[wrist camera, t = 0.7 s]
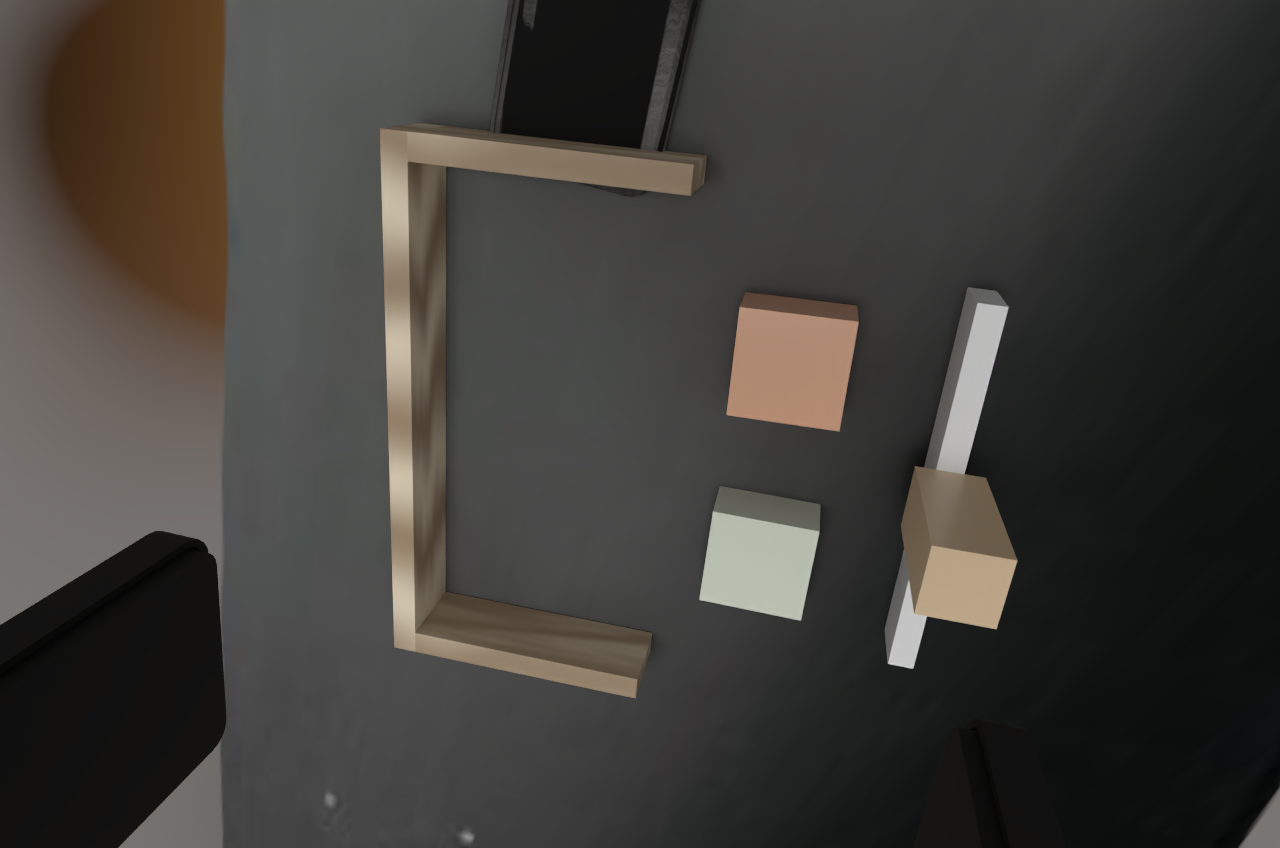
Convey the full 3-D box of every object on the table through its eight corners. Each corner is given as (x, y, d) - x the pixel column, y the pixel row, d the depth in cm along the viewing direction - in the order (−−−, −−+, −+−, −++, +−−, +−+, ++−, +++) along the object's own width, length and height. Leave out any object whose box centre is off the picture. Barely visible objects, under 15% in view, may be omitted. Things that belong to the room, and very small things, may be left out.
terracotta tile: (746, 291, 40) (739, 307, 37) (857, 304, 39) (858, 321, 36) (733, 392, 42) (726, 415, 39) (839, 407, 41) (839, 431, 38)
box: (421, 122, 40) (380, 128, 36) (707, 155, 38) (693, 164, 34) (426, 605, 50) (394, 647, 46) (650, 650, 48) (635, 698, 44)
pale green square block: (720, 483, 44) (712, 511, 41) (820, 502, 43) (819, 531, 40) (707, 568, 46) (699, 599, 43) (802, 587, 45) (800, 620, 42)
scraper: (945, 283, 38) (981, 350, 29) (1017, 292, 37) (1077, 364, 28) (866, 624, 45) (875, 764, 36) (926, 635, 44) (950, 780, 35)
